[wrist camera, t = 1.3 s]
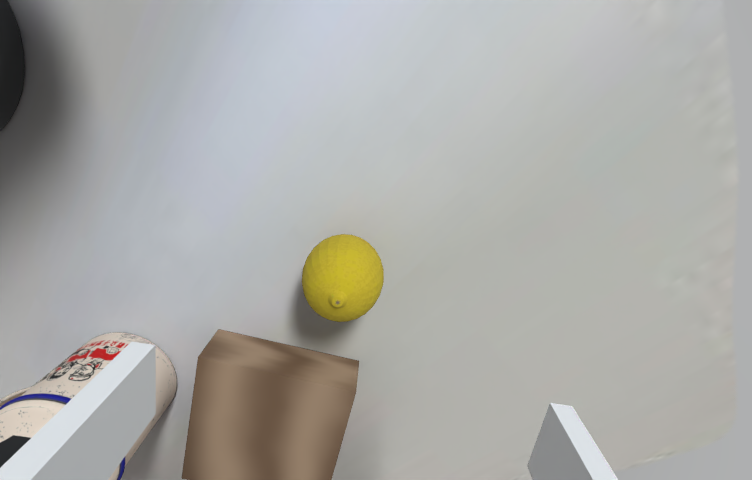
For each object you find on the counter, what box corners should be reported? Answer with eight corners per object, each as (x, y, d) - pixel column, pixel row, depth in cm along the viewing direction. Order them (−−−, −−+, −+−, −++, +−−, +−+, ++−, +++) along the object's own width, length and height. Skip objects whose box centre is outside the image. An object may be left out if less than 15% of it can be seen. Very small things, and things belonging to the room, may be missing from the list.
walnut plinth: (201, 441, 38) (181, 478, 35) (218, 329, 35) (198, 356, 31) (329, 468, 39) (323, 507, 35) (358, 361, 35) (356, 392, 32)
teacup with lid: (176, 330, 35) (79, 435, 24) (186, 419, 38) (104, 550, 27) (32, 323, 35) (-132, 425, 24) (53, 412, 38) (-84, 541, 27)
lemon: (341, 300, 34) (329, 358, 26) (298, 248, 32) (271, 292, 25) (397, 263, 33) (402, 312, 25) (355, 207, 31) (346, 240, 24)
